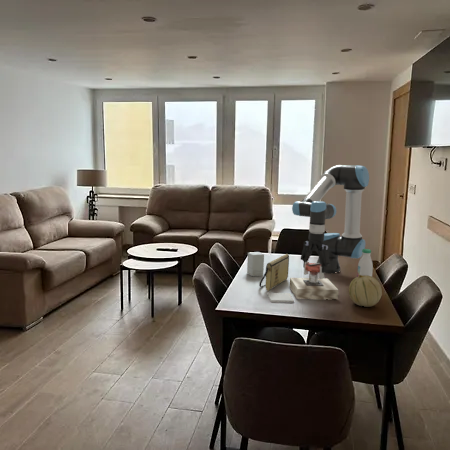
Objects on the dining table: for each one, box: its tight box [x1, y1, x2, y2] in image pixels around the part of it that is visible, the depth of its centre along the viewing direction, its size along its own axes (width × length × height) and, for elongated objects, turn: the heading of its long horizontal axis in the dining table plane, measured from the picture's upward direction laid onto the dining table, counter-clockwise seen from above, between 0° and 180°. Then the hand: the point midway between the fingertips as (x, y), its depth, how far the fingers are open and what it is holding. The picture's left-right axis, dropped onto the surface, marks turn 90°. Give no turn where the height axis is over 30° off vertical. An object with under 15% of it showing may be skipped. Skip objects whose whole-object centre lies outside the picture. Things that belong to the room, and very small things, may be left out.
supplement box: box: [246, 251, 265, 277], centre depth 250 cm, size 7×7×13 cm
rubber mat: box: [267, 292, 295, 304], centre depth 209 cm, size 11×11×1 cm
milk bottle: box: [356, 248, 374, 277], centre depth 235 cm, size 8×8×20 cm
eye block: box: [289, 277, 339, 301], centre depth 219 cm, size 20×20×6 cm
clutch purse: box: [258, 253, 290, 292], centre depth 231 cm, size 30×7×15 cm, turn 151°
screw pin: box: [305, 262, 322, 284], centre depth 218 cm, size 9×9×15 cm
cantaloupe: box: [348, 275, 383, 308], centre depth 201 cm, size 15×15×15 cm
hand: (313, 276), depth 218 cm, fingers closed on screw pin, 9 cm apart
